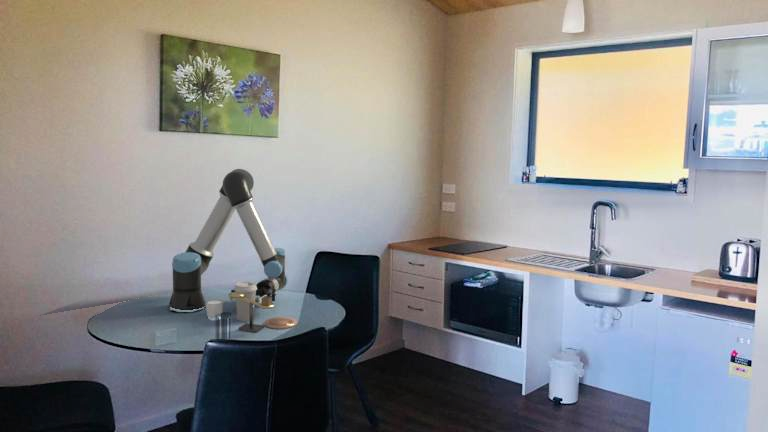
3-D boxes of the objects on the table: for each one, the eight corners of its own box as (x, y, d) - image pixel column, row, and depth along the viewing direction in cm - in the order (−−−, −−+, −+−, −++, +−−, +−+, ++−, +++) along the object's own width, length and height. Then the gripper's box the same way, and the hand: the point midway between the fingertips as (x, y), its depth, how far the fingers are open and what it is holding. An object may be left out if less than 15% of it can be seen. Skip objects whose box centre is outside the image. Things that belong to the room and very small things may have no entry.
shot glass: (226, 317, 258) (226, 301, 257) (215, 322, 252) (215, 305, 251) (213, 314, 261) (213, 298, 260) (202, 319, 255) (202, 303, 254)
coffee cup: (251, 323, 252) (251, 288, 249) (229, 321, 254) (229, 285, 251) (260, 316, 261) (260, 282, 259) (239, 314, 263) (239, 280, 260)
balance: (226, 328, 245) (226, 294, 243) (233, 323, 251) (233, 291, 249) (269, 334, 240) (270, 300, 238) (276, 329, 246) (277, 296, 244)
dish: (258, 326, 249) (258, 324, 248) (273, 317, 261) (273, 315, 261) (288, 330, 245) (288, 328, 245) (301, 320, 258) (301, 319, 257)
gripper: (292, 298, 272) (271, 312, 252) (241, 292, 278) (216, 305, 258) (293, 282, 271) (272, 294, 251) (241, 276, 277) (216, 288, 257)
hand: (244, 300), depth 254 cm, fingers open, 13 cm apart
